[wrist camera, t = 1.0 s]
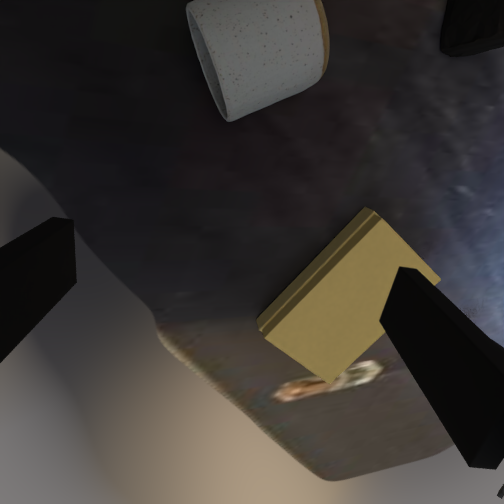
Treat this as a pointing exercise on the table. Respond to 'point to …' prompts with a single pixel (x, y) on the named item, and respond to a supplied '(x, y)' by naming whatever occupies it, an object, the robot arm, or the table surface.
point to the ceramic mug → (258, 50)
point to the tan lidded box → (340, 297)
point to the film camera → (472, 27)
